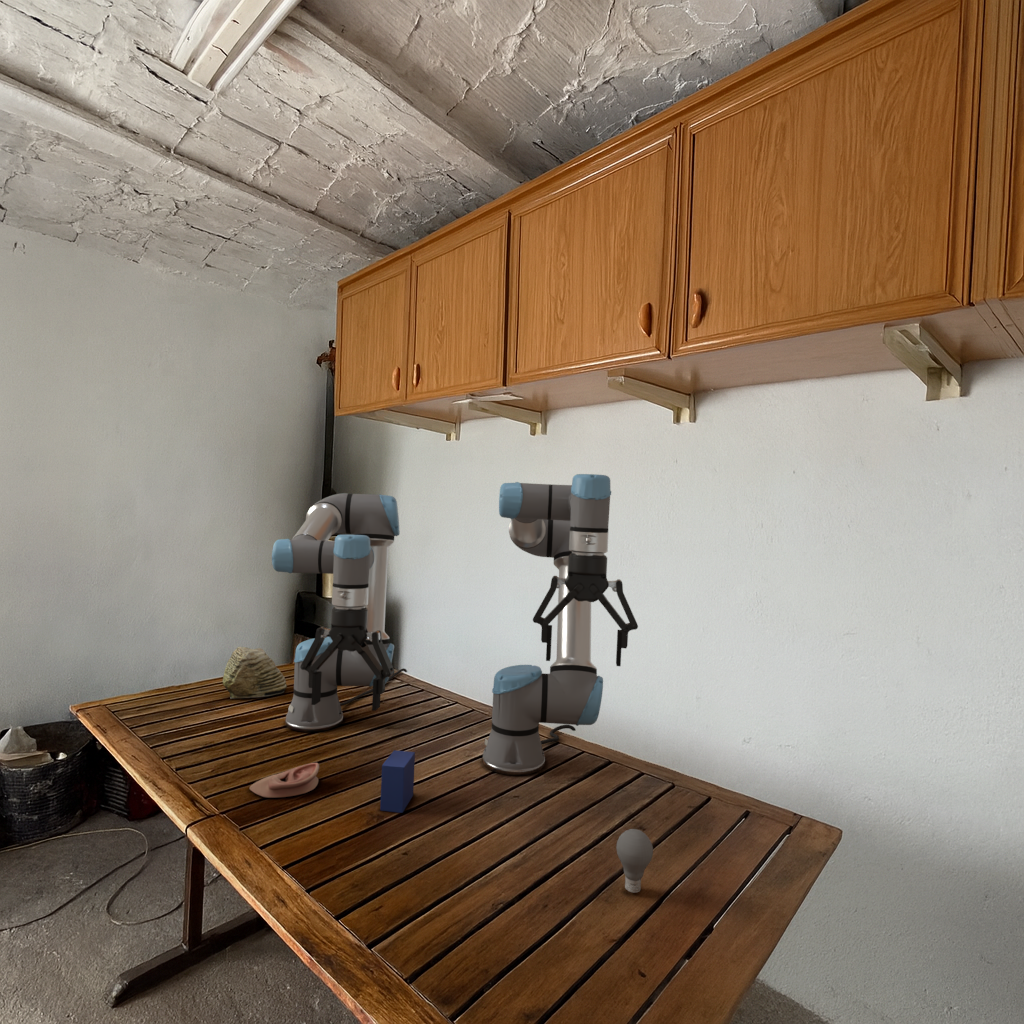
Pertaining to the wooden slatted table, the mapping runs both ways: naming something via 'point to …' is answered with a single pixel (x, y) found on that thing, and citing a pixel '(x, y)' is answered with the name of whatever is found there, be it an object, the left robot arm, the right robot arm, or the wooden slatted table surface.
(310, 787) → the anatomical model
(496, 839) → the wooden slatted table surface
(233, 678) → the fossil
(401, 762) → the brick
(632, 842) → the light bulb
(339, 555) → the left robot arm
